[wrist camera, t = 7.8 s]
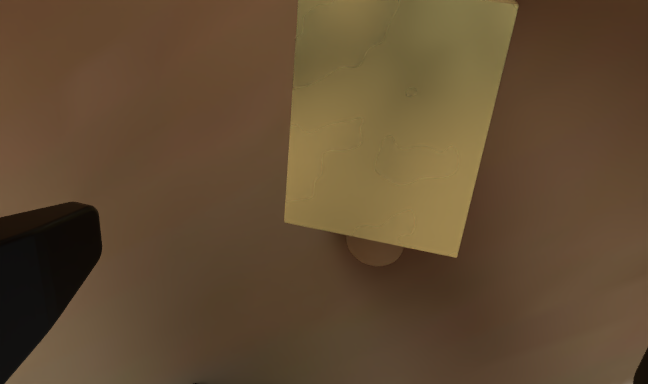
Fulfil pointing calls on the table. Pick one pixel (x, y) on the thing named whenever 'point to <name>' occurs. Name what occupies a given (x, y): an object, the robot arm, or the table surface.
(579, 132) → the table surface
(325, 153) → the tan rectangular block
